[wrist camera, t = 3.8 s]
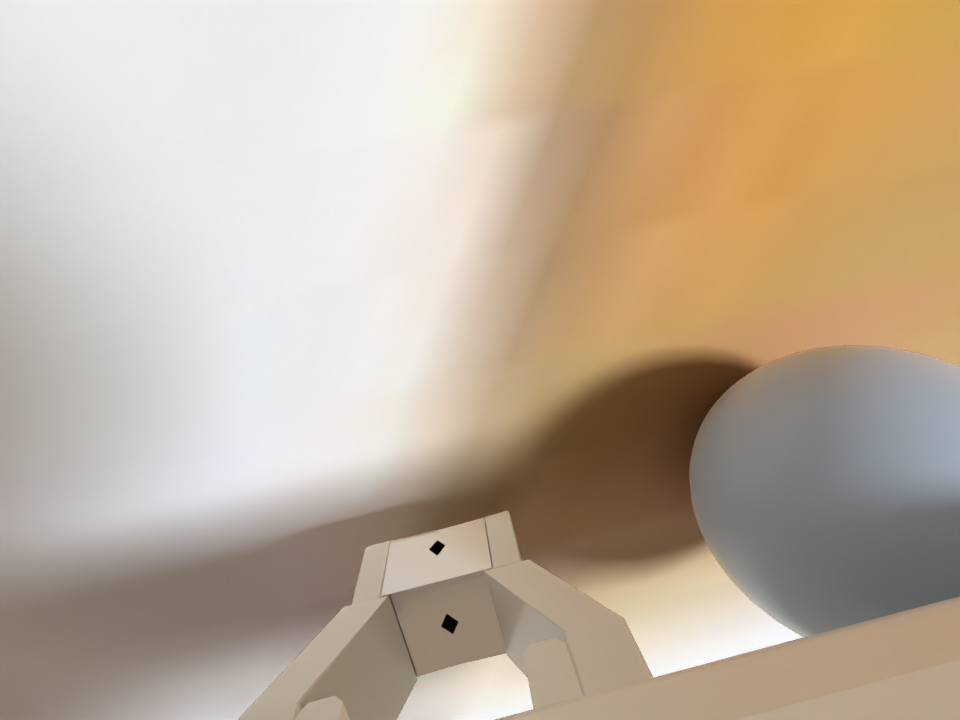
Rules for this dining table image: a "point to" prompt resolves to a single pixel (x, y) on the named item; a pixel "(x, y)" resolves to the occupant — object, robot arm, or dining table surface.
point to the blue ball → (834, 485)
